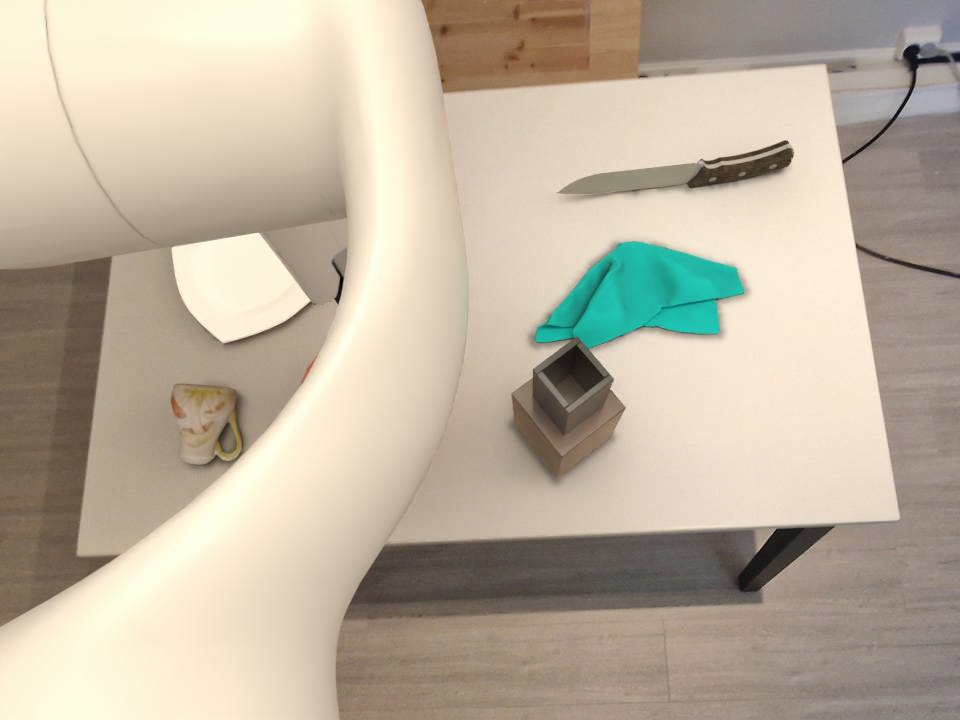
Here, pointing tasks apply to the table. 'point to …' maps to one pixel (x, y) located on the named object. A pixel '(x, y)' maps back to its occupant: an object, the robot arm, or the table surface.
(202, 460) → the mug
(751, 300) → the table surface
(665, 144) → the table surface
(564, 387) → the utensil stand
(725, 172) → the knife
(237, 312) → the plate
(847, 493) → the table surface
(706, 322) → the cloth
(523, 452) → the table surface
